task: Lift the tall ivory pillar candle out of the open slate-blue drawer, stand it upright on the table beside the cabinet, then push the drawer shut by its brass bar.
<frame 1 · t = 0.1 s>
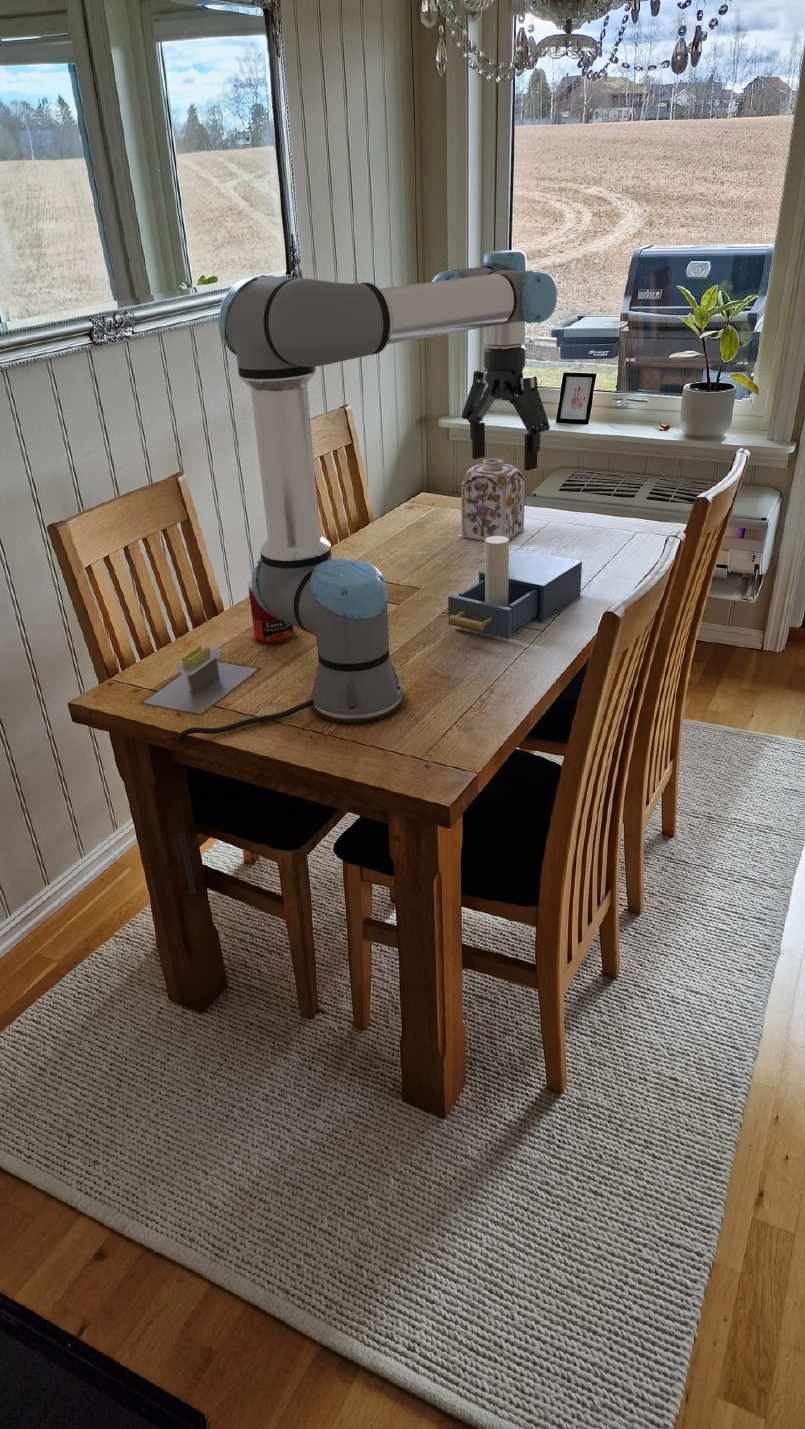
hand: (504, 463, 184), 28 cm above the table, tool pointing down, fingers open, 13 cm apart
drawer: (491, 608, 184), point 4 cm above the table, slide at 10.5 cm, touching candle
ceramic mug: (334, 599, 203), on the table
canned food: (274, 637, 187), on the table
cabinet: (530, 602, 196), on the table
platform: (202, 686, 170), on the table
candle: (496, 614, 187), point 2 cm above the table, touching drawer
decorative jar: (493, 535, 235), on the table
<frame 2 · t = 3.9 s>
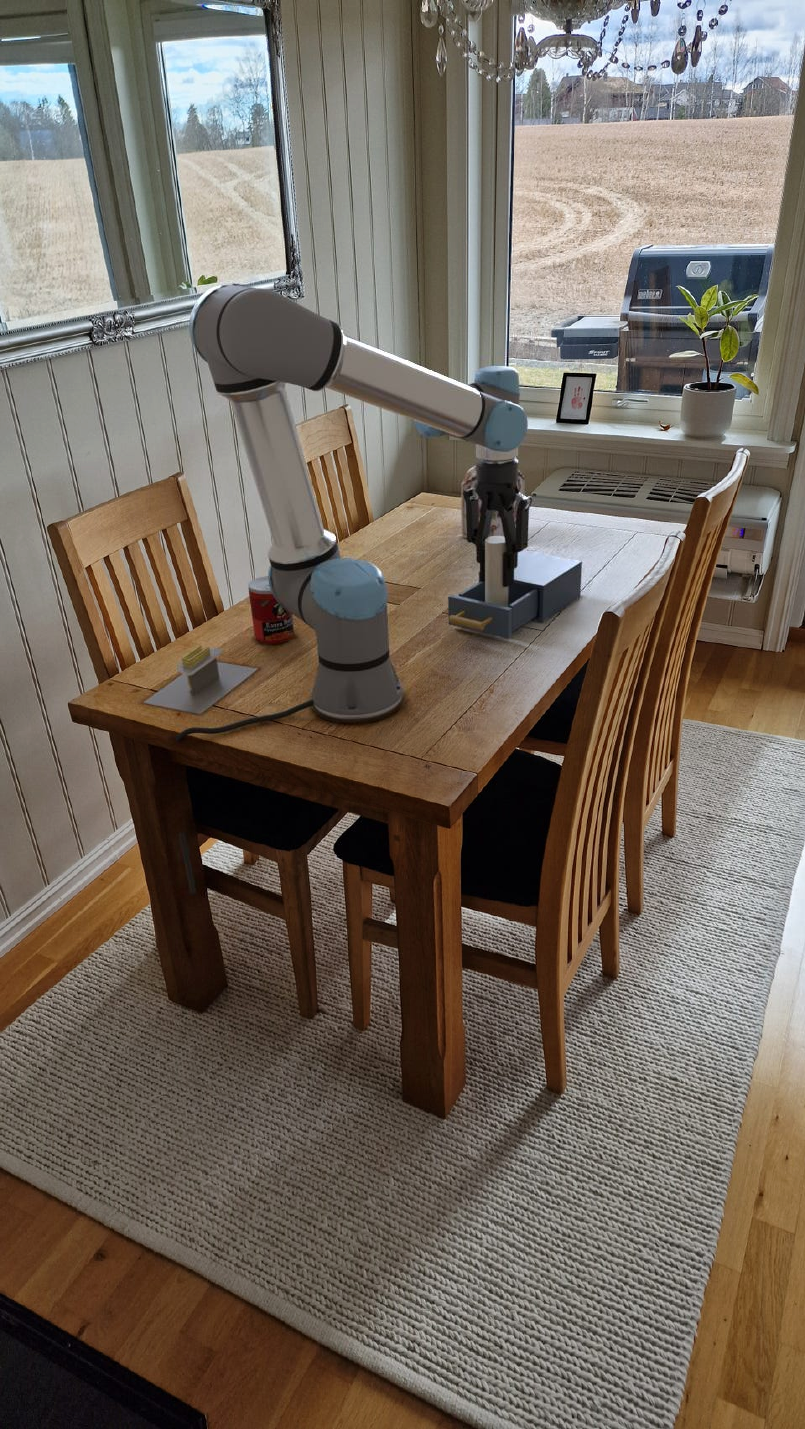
hand: (496, 581, 183), 9 cm above the table, tool pointing down, fingers closed on candle, 4 cm apart
candle: (496, 614, 187), point 2 cm above the table, touching drawer, gripper
everything else where it was.
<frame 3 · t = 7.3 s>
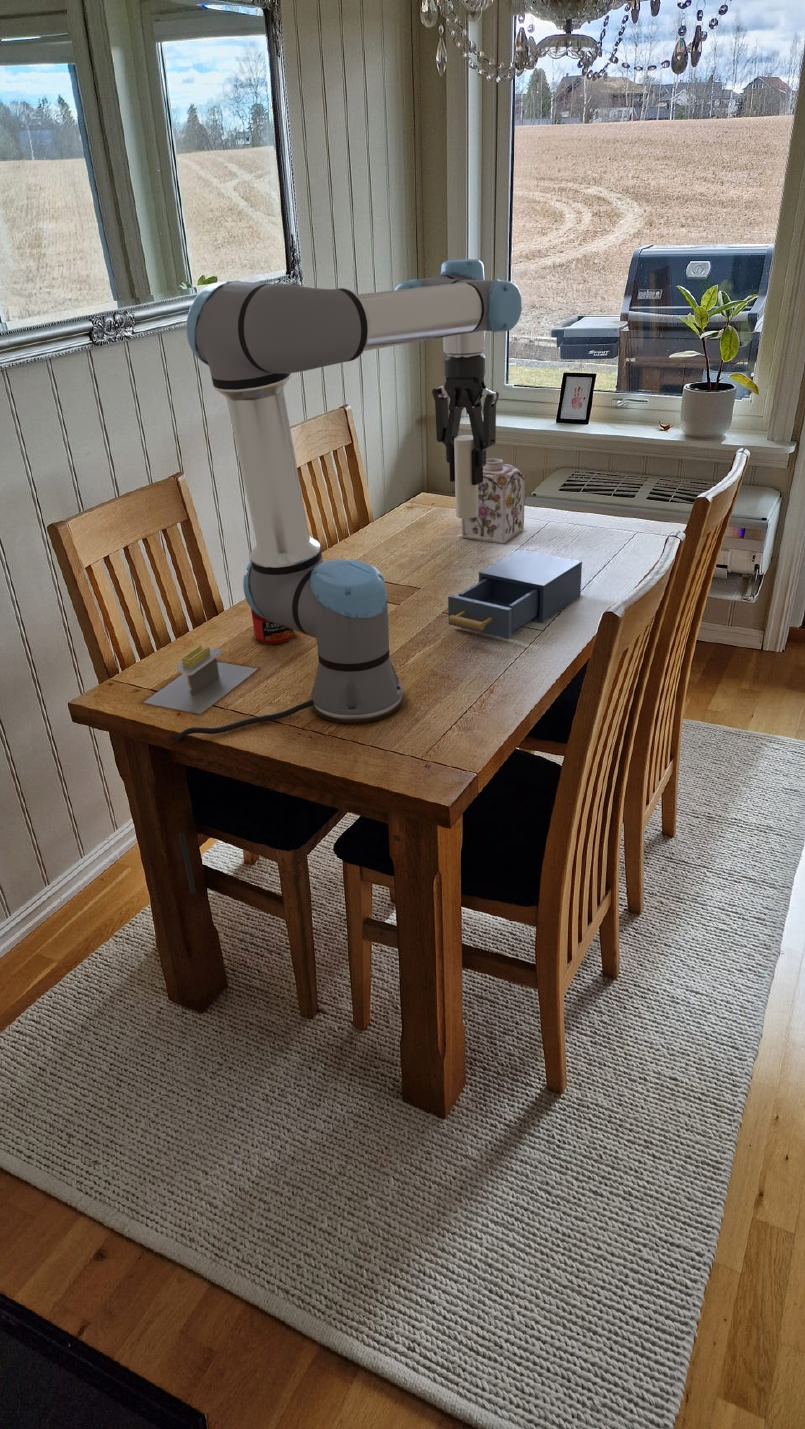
hand: (466, 481, 186), 25 cm above the table, tool pointing down, fingers closed on candle, 4 cm apart
drawer: (491, 608, 184), point 4 cm above the table, slide at 10.5 cm
candle: (467, 515, 189), point 18 cm above the table, touching gripper
everything else where it was.
when the fingers open (7 cm above the table, at t = 10.7 s): candle stays where it is, on the table.
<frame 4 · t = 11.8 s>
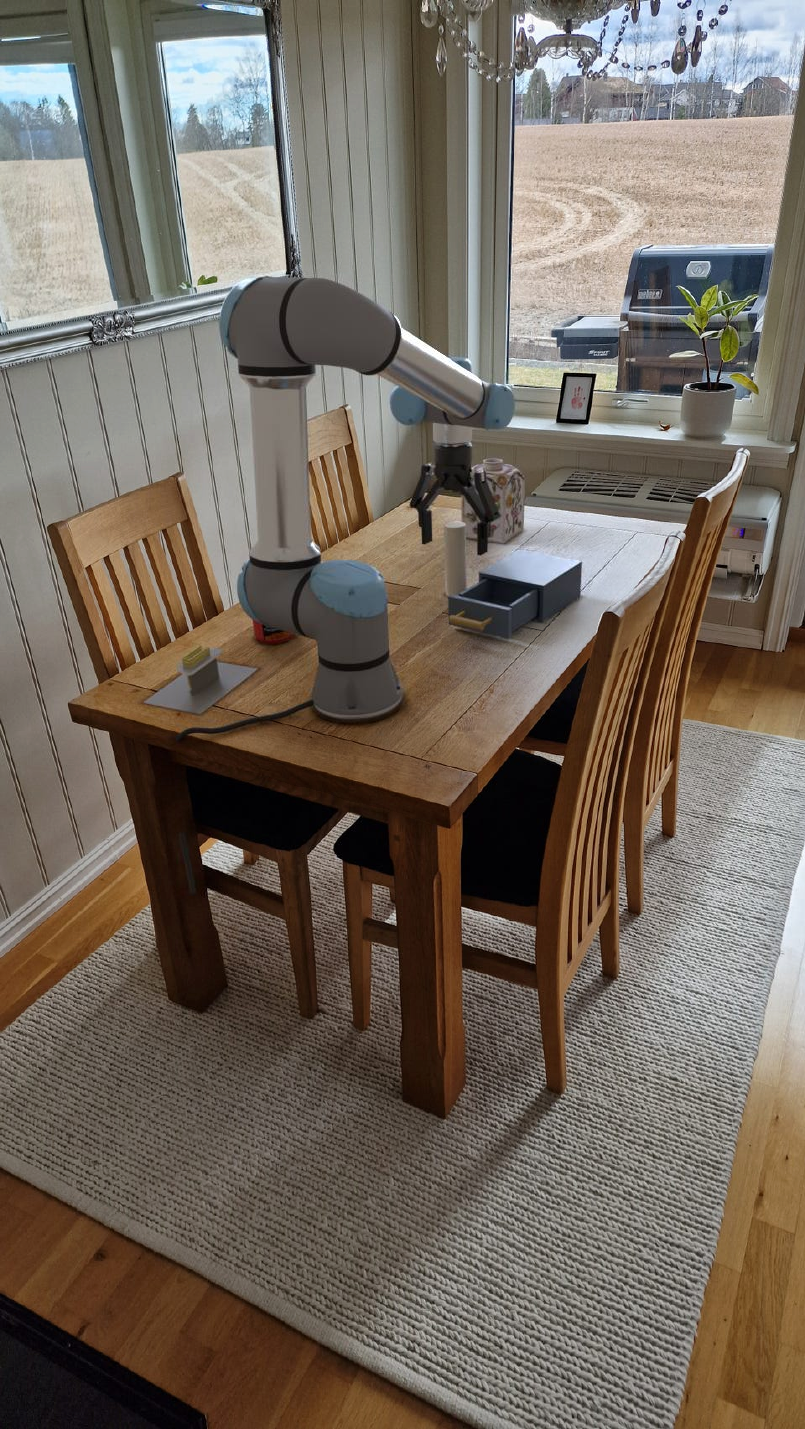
hand: (454, 548, 197), 10 cm above the table, tool pointing down, fingers open, 13 cm apart
candle: (456, 594, 202), on the table
everything else where it was.
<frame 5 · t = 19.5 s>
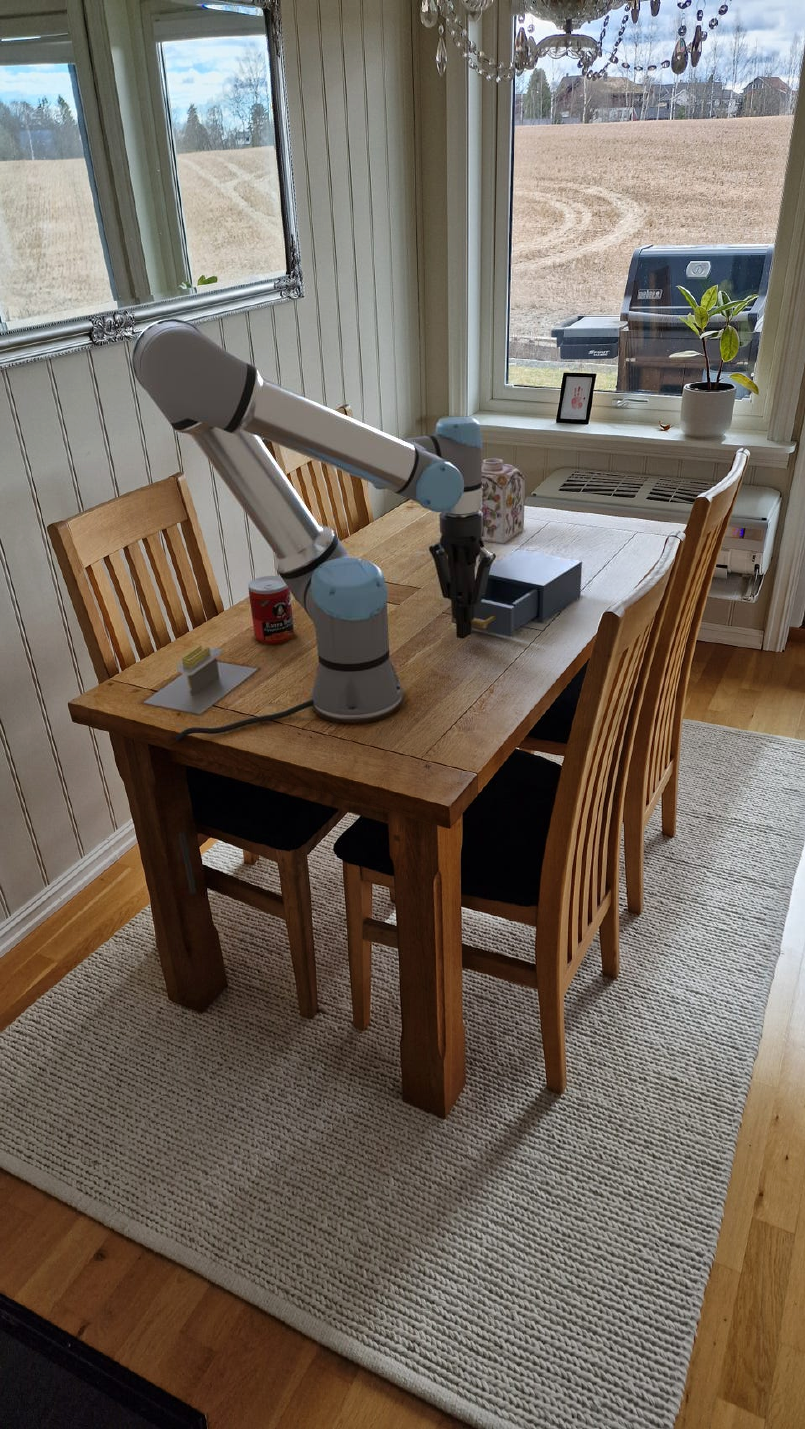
hand: (463, 635, 178), 2 cm above the table, tool pointing down, fingers closed
drawer: (494, 607, 185), point 4 cm above the table, slide at 9.5 cm, touching gripper
everything else where it was.
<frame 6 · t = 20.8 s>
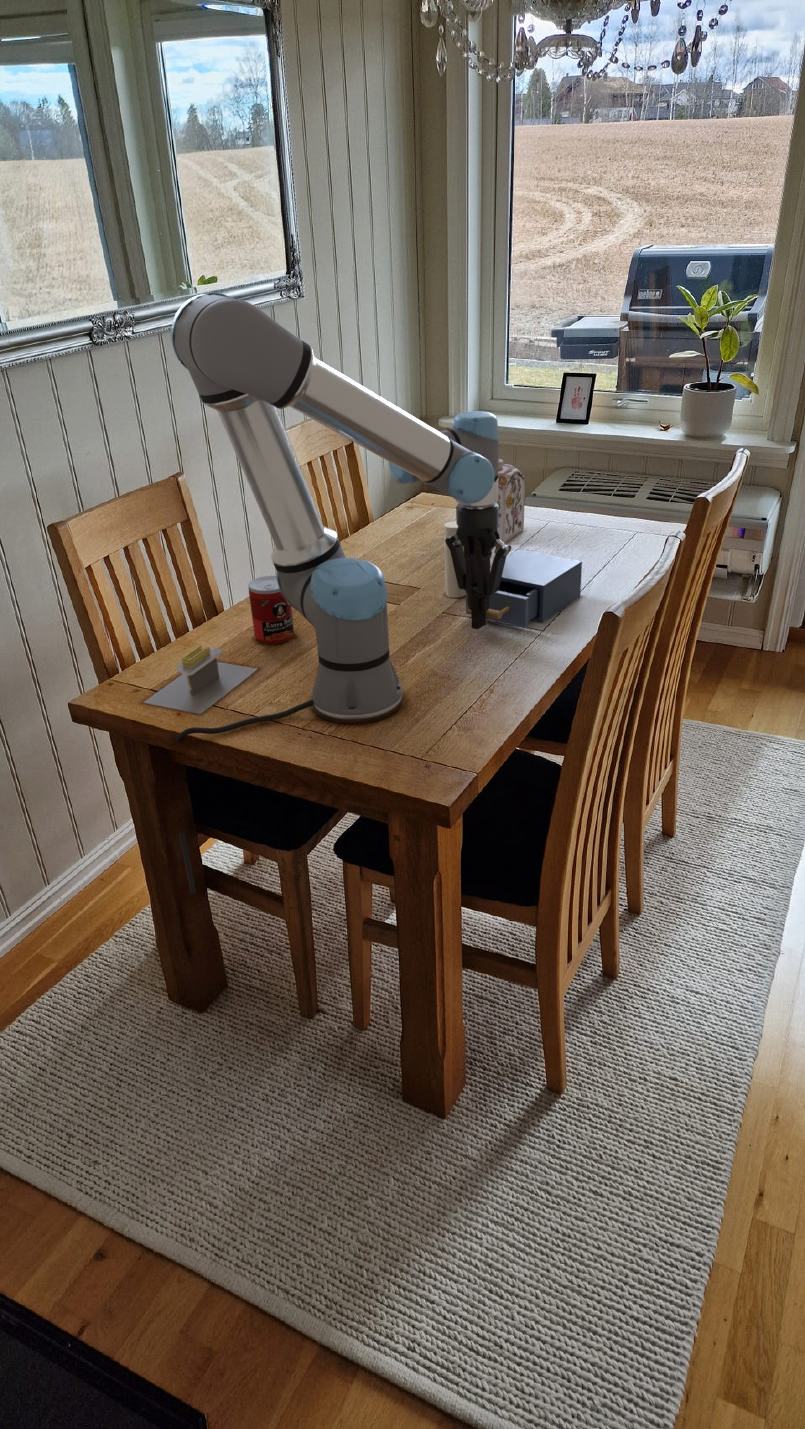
hand: (478, 626, 182), 2 cm above the table, tool pointing down, fingers closed
drawer: (508, 598, 189), point 4 cm above the table, slide at 4.4 cm, touching gripper
everything else where it was.
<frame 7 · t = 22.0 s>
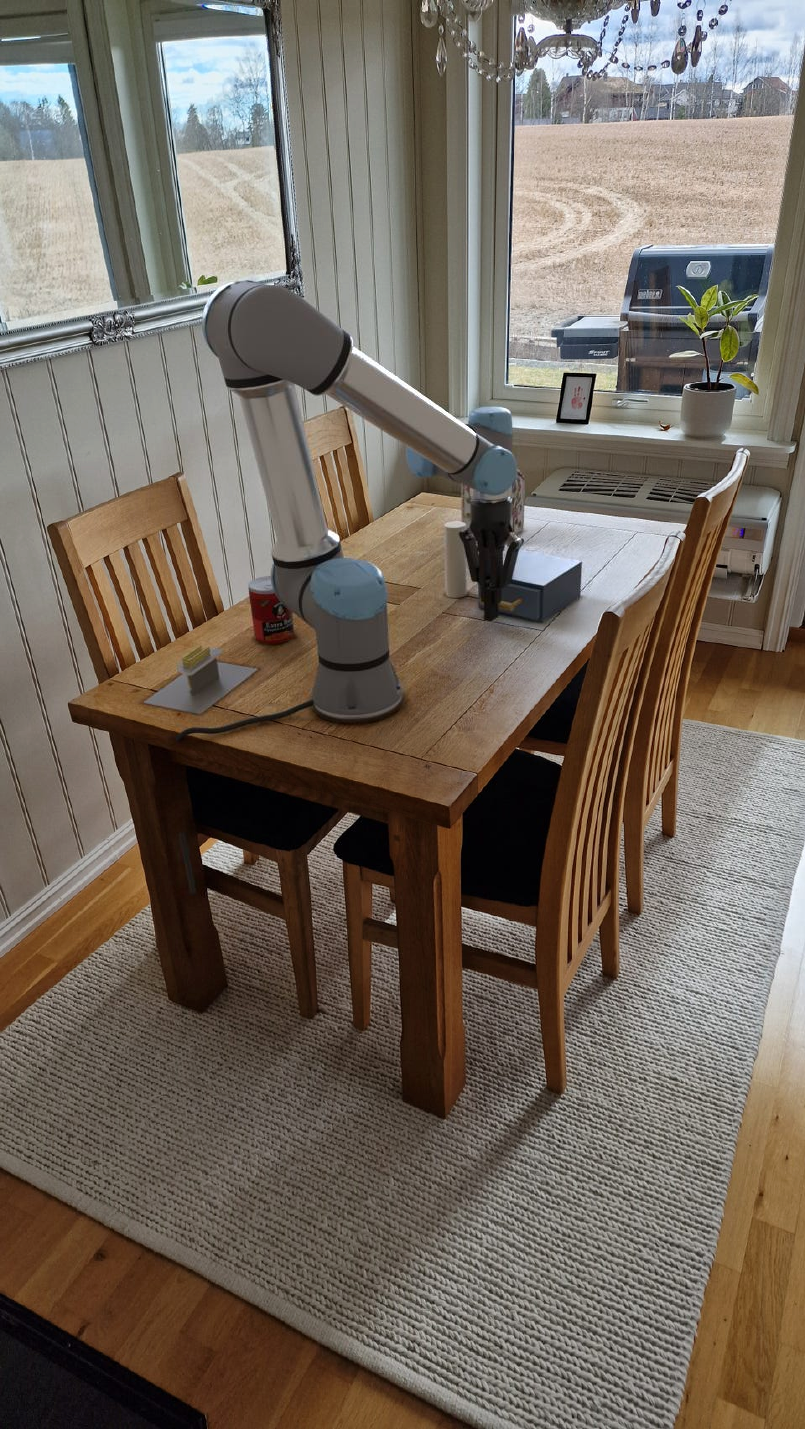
hand: (491, 618, 185), 2 cm above the table, tool pointing down, fingers closed
drawer: (520, 591, 192), point 4 cm above the table, slide at 0.0 cm, touching cabinet, gripper
everything else where it was.
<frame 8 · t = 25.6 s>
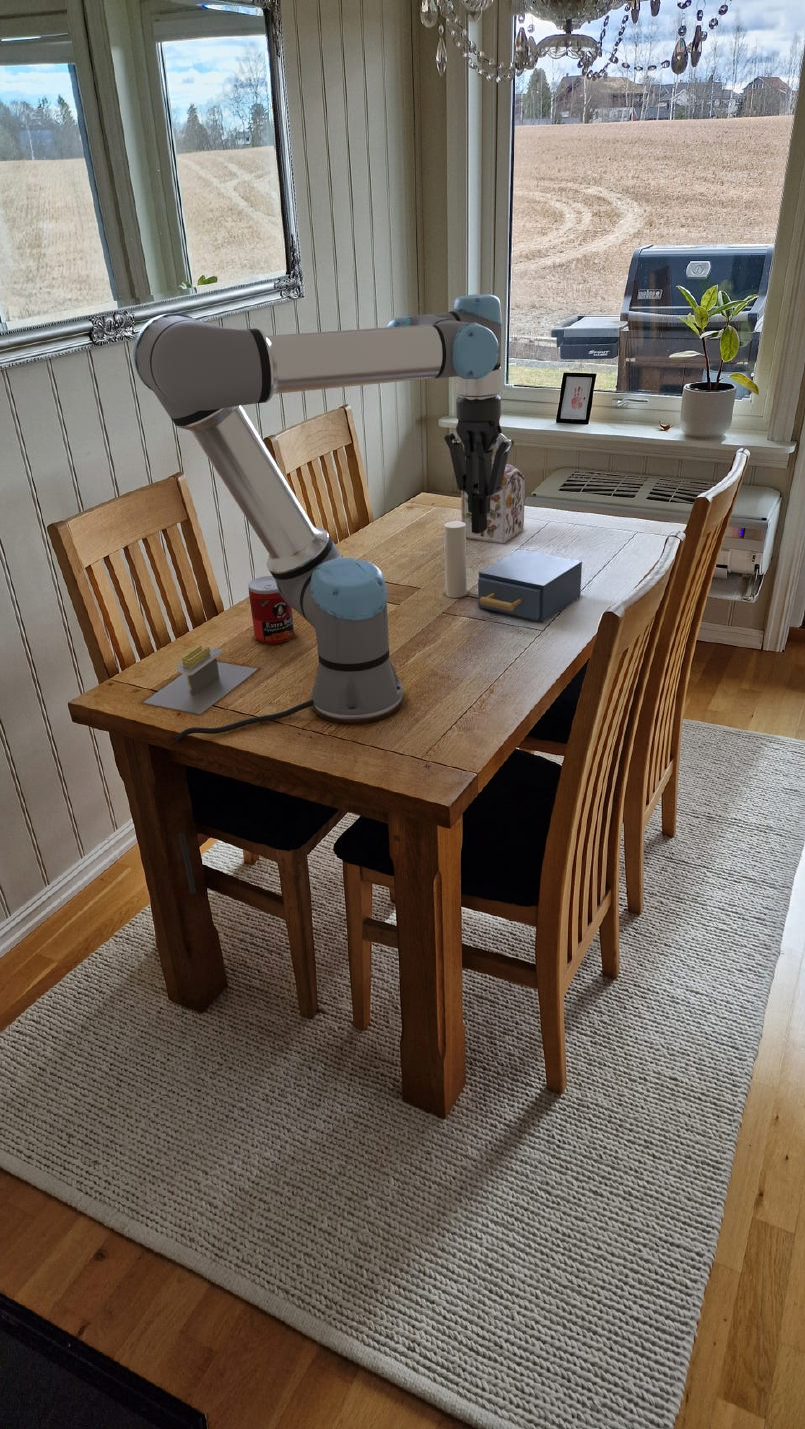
hand: (479, 530, 174), 20 cm above the table, tool pointing down, fingers closed
drawer: (520, 591, 192), point 4 cm above the table, slide at 0.0 cm, touching cabinet
everything else where it was.
at the end: candle inside the target area (0.1 cm from its centre), on the table; candle tilted 0°; drawer slide at 0.0 cm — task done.
